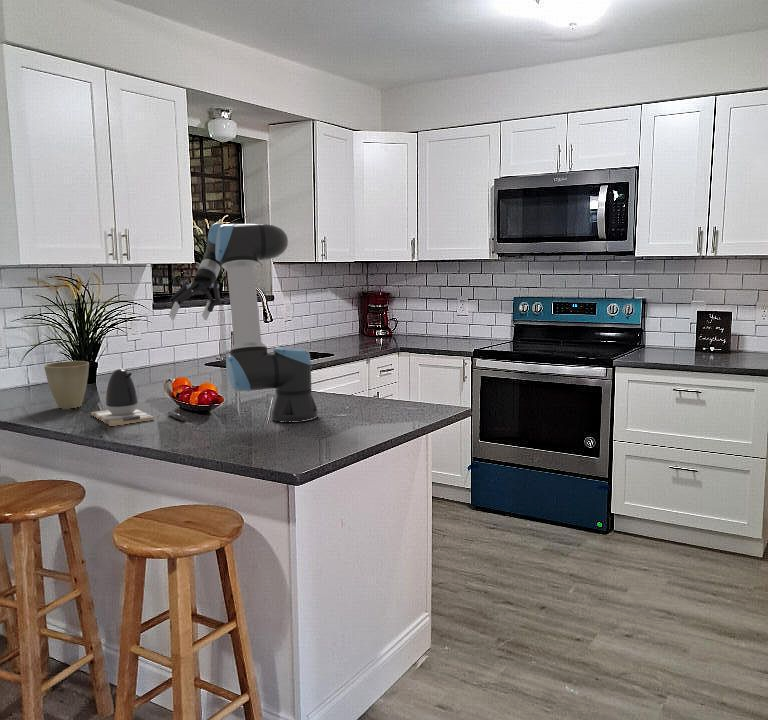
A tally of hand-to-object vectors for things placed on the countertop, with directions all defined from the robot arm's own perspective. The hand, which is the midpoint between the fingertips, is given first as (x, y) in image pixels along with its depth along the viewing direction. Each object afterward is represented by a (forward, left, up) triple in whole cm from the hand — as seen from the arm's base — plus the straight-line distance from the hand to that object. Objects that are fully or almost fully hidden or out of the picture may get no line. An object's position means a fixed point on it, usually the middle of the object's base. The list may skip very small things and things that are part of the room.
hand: (187, 317), depth 267 cm
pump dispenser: (-8, +27, -30) cm, 42 cm away
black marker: (-21, +14, -31) cm, 40 cm away
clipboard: (-8, +28, -31) cm, 43 cm away
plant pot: (+23, +37, -32) cm, 54 cm away
